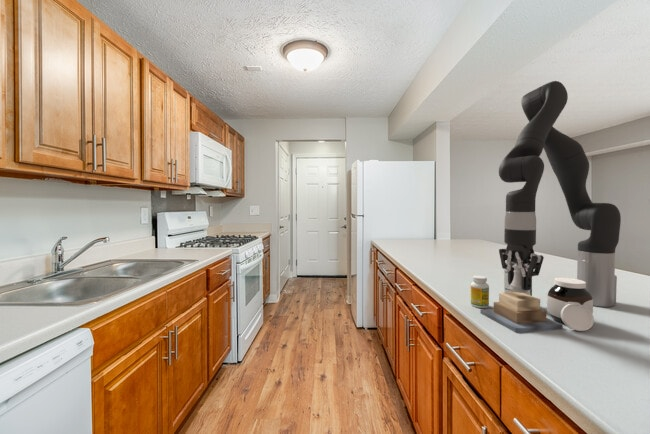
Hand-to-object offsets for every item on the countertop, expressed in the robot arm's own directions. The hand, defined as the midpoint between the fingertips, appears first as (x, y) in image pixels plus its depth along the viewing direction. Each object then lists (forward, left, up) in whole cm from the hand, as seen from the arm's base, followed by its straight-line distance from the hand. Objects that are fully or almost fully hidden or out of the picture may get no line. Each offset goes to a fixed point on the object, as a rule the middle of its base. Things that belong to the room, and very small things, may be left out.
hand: (519, 286), depth 85 cm
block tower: (0, 0, -10) cm, 10 cm away
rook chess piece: (0, 0, -1) cm, 1 cm away
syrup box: (-10, -12, -10) cm, 18 cm away
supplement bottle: (+3, -13, -10) cm, 17 cm away
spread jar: (-12, +5, -10) cm, 17 cm away
